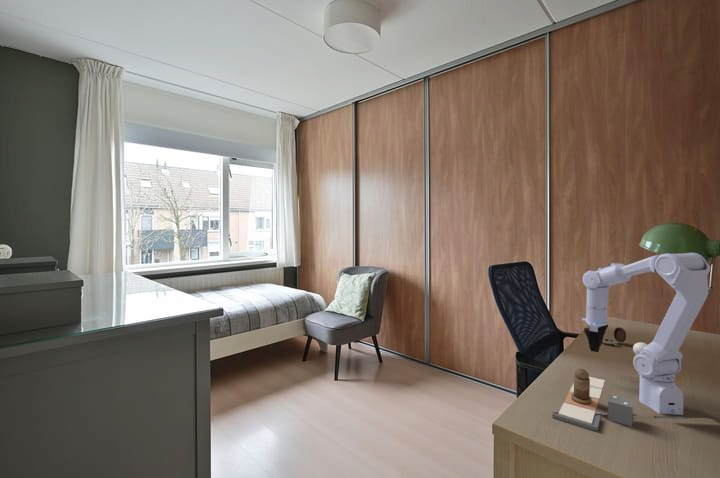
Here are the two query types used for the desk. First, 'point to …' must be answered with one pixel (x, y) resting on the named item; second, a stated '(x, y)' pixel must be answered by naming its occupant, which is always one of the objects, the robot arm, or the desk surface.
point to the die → (620, 410)
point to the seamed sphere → (638, 347)
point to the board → (580, 414)
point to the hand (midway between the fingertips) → (595, 348)
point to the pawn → (581, 387)
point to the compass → (616, 337)
